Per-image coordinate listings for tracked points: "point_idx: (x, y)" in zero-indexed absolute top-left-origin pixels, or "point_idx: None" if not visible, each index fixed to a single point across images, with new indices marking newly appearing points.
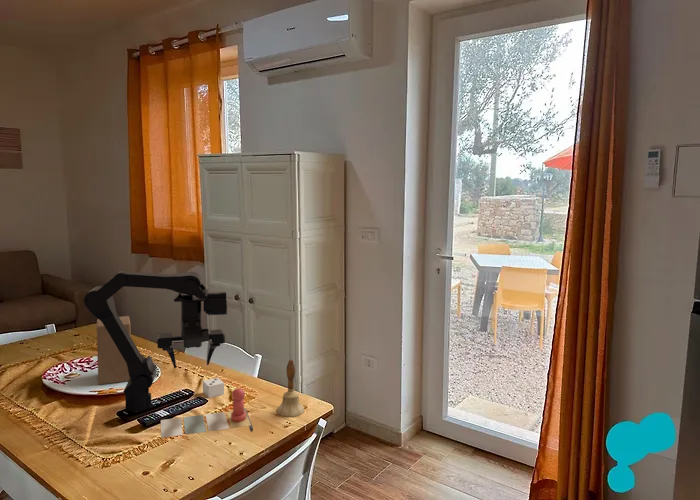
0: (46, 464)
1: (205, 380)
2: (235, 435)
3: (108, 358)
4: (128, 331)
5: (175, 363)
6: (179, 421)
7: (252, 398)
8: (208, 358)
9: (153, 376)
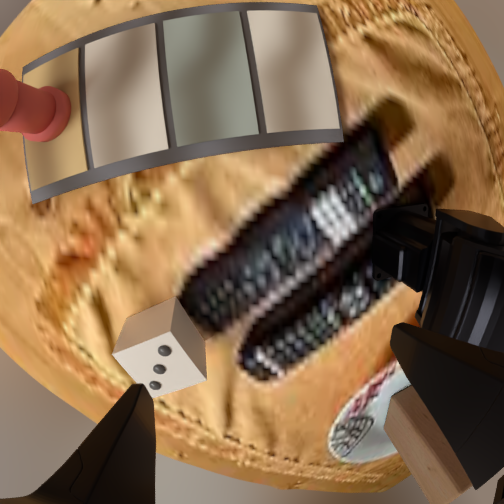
0: (479, 50)
1: (196, 382)
2: (75, 37)
3: None
4: (455, 478)
5: (423, 340)
6: (270, 100)
7: (40, 301)
8: (114, 428)
9: (459, 271)
